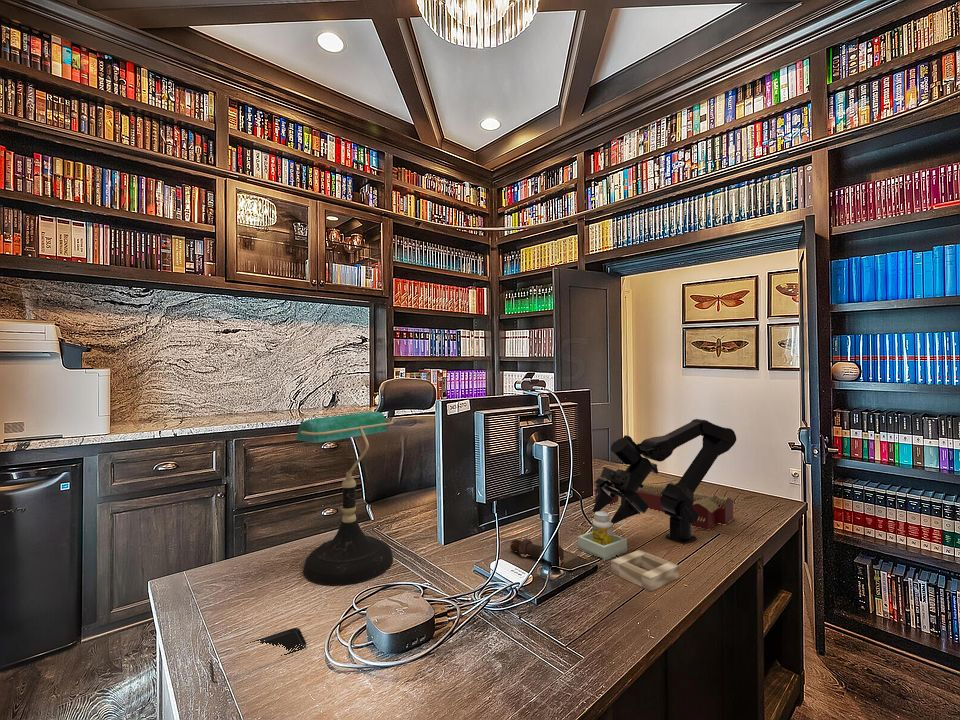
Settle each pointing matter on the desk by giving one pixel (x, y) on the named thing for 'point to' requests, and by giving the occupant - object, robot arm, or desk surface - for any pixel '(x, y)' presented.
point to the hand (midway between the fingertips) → (602, 517)
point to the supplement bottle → (602, 528)
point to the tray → (599, 550)
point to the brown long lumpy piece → (531, 548)
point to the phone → (286, 639)
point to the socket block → (649, 580)
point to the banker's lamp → (346, 510)
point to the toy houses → (705, 506)
